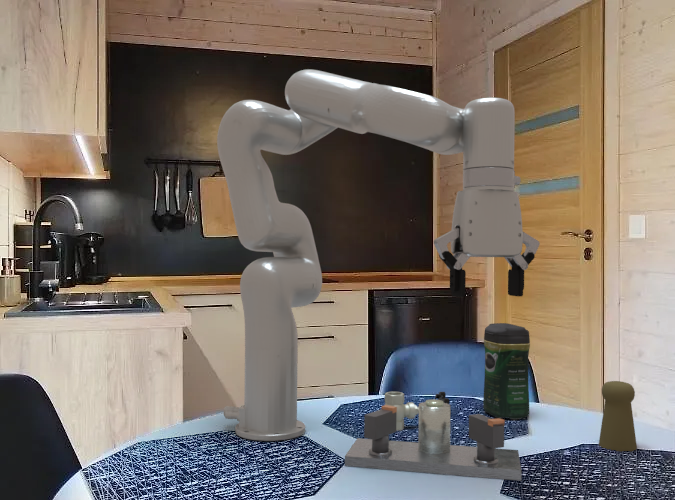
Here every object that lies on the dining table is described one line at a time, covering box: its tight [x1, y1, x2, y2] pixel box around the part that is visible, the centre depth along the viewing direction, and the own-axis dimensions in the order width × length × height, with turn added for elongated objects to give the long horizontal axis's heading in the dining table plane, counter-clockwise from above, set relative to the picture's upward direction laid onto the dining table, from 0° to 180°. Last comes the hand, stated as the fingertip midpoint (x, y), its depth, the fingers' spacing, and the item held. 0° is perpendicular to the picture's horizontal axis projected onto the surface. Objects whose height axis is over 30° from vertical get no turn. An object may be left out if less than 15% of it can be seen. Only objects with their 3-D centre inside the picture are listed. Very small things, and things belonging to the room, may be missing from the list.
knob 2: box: [468, 413, 506, 462], centre depth 98 cm, size 6×3×6 cm, turn 24°
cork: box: [598, 380, 638, 452], centre depth 112 cm, size 6×6×11 cm
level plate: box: [344, 398, 522, 482], centre depth 102 cm, size 26×10×9 cm, turn 77°
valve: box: [384, 391, 452, 432], centre depth 123 cm, size 7×7×12 cm
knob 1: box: [363, 404, 397, 453], centre depth 102 cm, size 6×3×6 cm, turn 143°
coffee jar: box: [482, 322, 531, 420], centre depth 133 cm, size 10×8×19 cm
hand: (487, 296), depth 98 cm, fingers open, 9 cm apart
